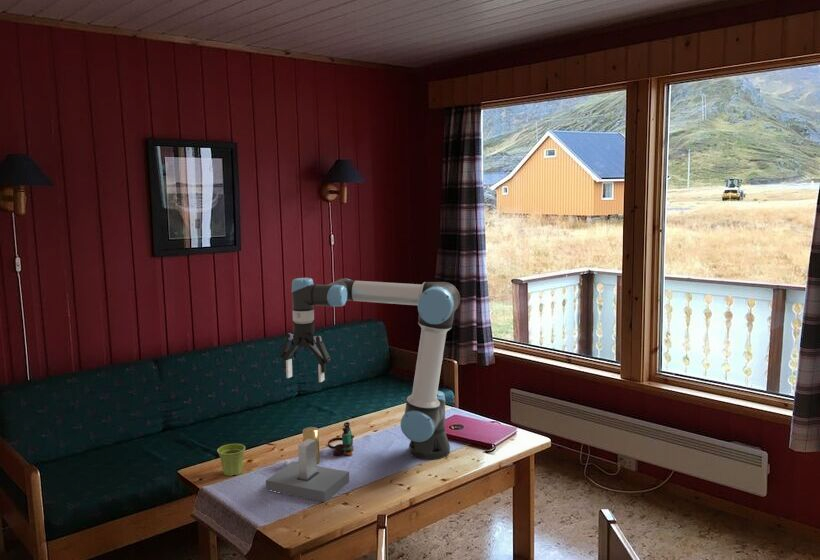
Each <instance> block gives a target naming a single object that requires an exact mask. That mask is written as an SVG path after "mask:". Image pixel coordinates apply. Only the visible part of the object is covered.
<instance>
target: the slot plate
mask: <svg viewBox="0 0 820 560" xmlns="http://www.w3.org/2000/svg"><path fill="white" fill-rule="evenodd" d="M349 483H350V471H347V470H341V469H336V468H331V467H330V468H329V467H324V466H318V465H317V475H316V476H315V477H313V478H312V479H311V480H309V481H308V482H307V481H302V480H299V461H298V462H297V461H292V462H290V463H289V464H288V465H286V466H285V467H283V468H282V469H280V470H279V471H277V472H276V473H274V474H273V475H271V476H269V477H268V478H267V479H266V480H265V490H266V489H267V490H272V491H276V492H275V493H277V492H280V493H279V494H282V493H285V494H284V495H286V494H289V495H288V496H291V495H294V496H293V497H296V496H297V498H303V499H306V500H312V501H315V502H316V501H317V502H319V503H321V502H322V503H326V502H327V501H329V499H331V498H332V497H333V496H334V495H336V494H337V493H338V492H339V491H340V490H342V489H343V488H344V487H346V485H347V484H349ZM267 490H266V491H267ZM272 491H271V492H272Z"/></svg>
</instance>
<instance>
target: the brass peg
mask: <svg viewBox="0 0 820 560" xmlns="http://www.w3.org/2000/svg"><path fill="white" fill-rule="evenodd" d="M319 436H320V435H319V428H318V427H316V426H309V427H308V426H307V427H305V428H303V429H302V442H304V441H305V440H307V439H313V440H316V461H317V465H318V464H320V463H321V456H320V437H319ZM319 462H320V463H319Z"/></svg>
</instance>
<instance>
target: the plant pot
mask: <svg viewBox="0 0 820 560" xmlns="http://www.w3.org/2000/svg"><path fill="white" fill-rule="evenodd" d="M245 450H246V446H245V445H244V444H241V443H228V444H224V445H222V446H220V447H218V448H217V451H216V453H218V455H219V457H220V462H221V466H222V467H221V468H222V473H223V474H224V475H225V476H227V477H231V476H234V475H235V476H237V475H239V474H241V473H242V471H243V461H244V453H245Z"/></svg>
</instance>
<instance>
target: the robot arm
mask: <svg viewBox="0 0 820 560" xmlns="http://www.w3.org/2000/svg"><path fill="white" fill-rule="evenodd" d="M291 300H292V301H291V303H292V305H291V306H292V321H293V322H292V332H288V333H286V335H285V341H284V343H283V346H282V348H281V350H280V353H279V355H278V357H279V358H280V359H283V363H284V364H283V365H284V366H283V367H284V369H285V372H286V373H285V374H286V375H285V377H286V379H290V378H292V377H293V359H292V358H291V357H292V356H293V354H294V353H296V351H297V349H298V348H305V349H307V348H308V349H309V351H311V352H312V354H313V355H314V357H315V358H316V359H317V360H318V362H319V363H318V370H317V371H318V383H322V382H324V381H325V373H326V372H327V364H328V363H329V362H331V361H332V359H331V356H330V354H329V352H328V350H327V348H326V346H325V345H326V344H325V343H324V340H323V339H324V338H323V335H317V336H316V335H315V322H314V320H315V309H314V308H315V306H318V307H319V306H321V307H333V308H336V307H343V306H345V305H346V303H347V301H349V302H363V303H364V302H367V303H379V304H391V305H393V304H395V305H404V306H405V305H407V306H417V312H418V321H417V324H418V325H419V327H420V328H421V329H420V331H421V332H420V338H419V345H418V349H417V350H418V351H417V359H416V364H415V372H414V378H413V384H412V392H411V394H410V395H408V396H407V398H406V403H405V408H404V409H405V410H404V414H403V415H402V417H401V419H400V425H399V426H400V429H401V432H402V434H403V435H404V437H405V438H407V439H408V440H410V441H409V445H408V450H409V451H408V453H409V454H410V455H411V456H412V457H414V458H417V459H421V460H437V459H442V458H445V457H447V456H448V455H450V453H451V446H450V442H449V440H448V437H447V433H446V397H445V396H446V395H445V393H444V392H443V391H442V390H441V391H440V390H439V384H440V376H441V370H442V364H443V359H444V351H445V345H446V339H447V333H448V331H450V330H451V329H452V328H453V322H454V315H455V312H456V310H458V307H459V306H460V303H461V295H460V292H459V290H458V289H457V288H456V286H455V285H454V284H452V283H450V282H446V281H438V282H437V281H424V282H423V283H422V284H420V283H419V284H418V283H416V284H415V283H405V282H404V283H402V282H400V283H399V282H384V281H370V280H369V281H365V280H352V279H349V278H346V277H345V278H340V279H337V280H336V281H333V282H331V283H328V284H316V283H315V284H314V280H313V278H311V277H298V278H294V279H293V280H292V282H291ZM293 340H294V342H293V344H292V341H293ZM291 344H292V346H291ZM290 346H291V347H290Z"/></svg>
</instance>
